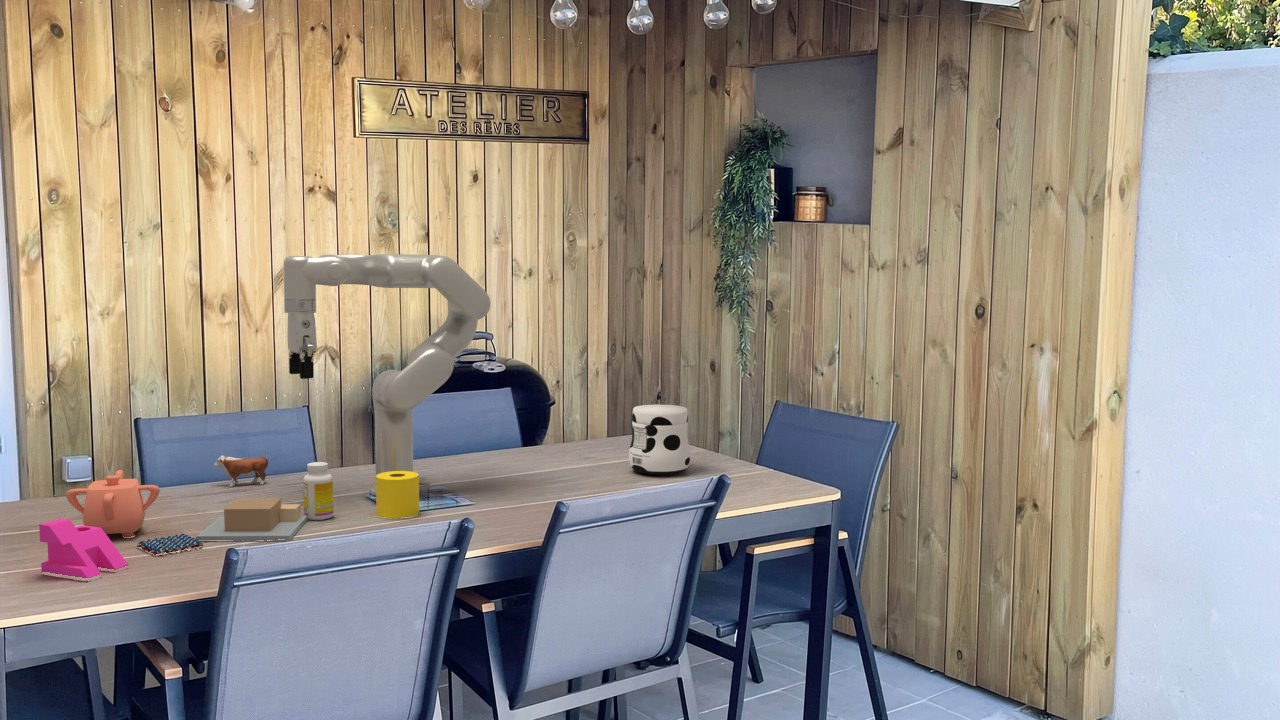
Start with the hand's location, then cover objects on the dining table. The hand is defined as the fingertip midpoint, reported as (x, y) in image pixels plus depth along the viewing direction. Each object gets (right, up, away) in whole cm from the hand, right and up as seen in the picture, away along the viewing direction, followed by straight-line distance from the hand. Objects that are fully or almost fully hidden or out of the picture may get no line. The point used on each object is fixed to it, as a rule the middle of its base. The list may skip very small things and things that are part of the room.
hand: (301, 376), depth 298 cm
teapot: (-33, -35, -28) cm, 56 cm away
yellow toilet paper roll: (+26, -33, -9) cm, 43 cm away
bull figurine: (-21, -29, +20) cm, 42 cm away
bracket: (-27, -38, -58) cm, 74 cm away
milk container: (+89, -28, +41) cm, 102 cm away
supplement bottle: (+8, -33, -13) cm, 37 cm away
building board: (-3, -34, -26) cm, 43 cm away
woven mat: (-17, -37, -40) cm, 57 cm away
